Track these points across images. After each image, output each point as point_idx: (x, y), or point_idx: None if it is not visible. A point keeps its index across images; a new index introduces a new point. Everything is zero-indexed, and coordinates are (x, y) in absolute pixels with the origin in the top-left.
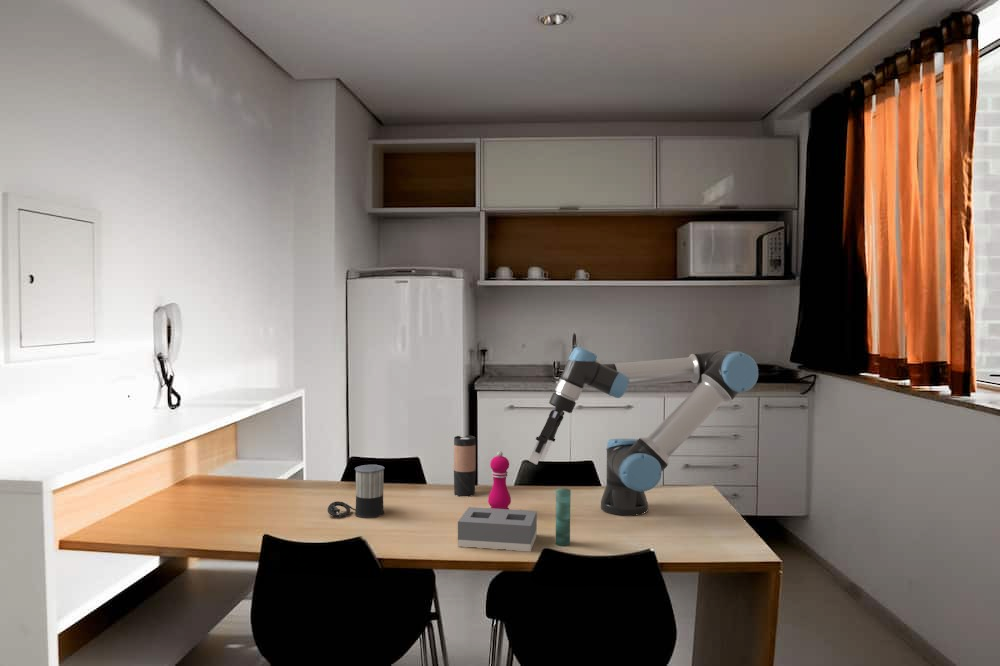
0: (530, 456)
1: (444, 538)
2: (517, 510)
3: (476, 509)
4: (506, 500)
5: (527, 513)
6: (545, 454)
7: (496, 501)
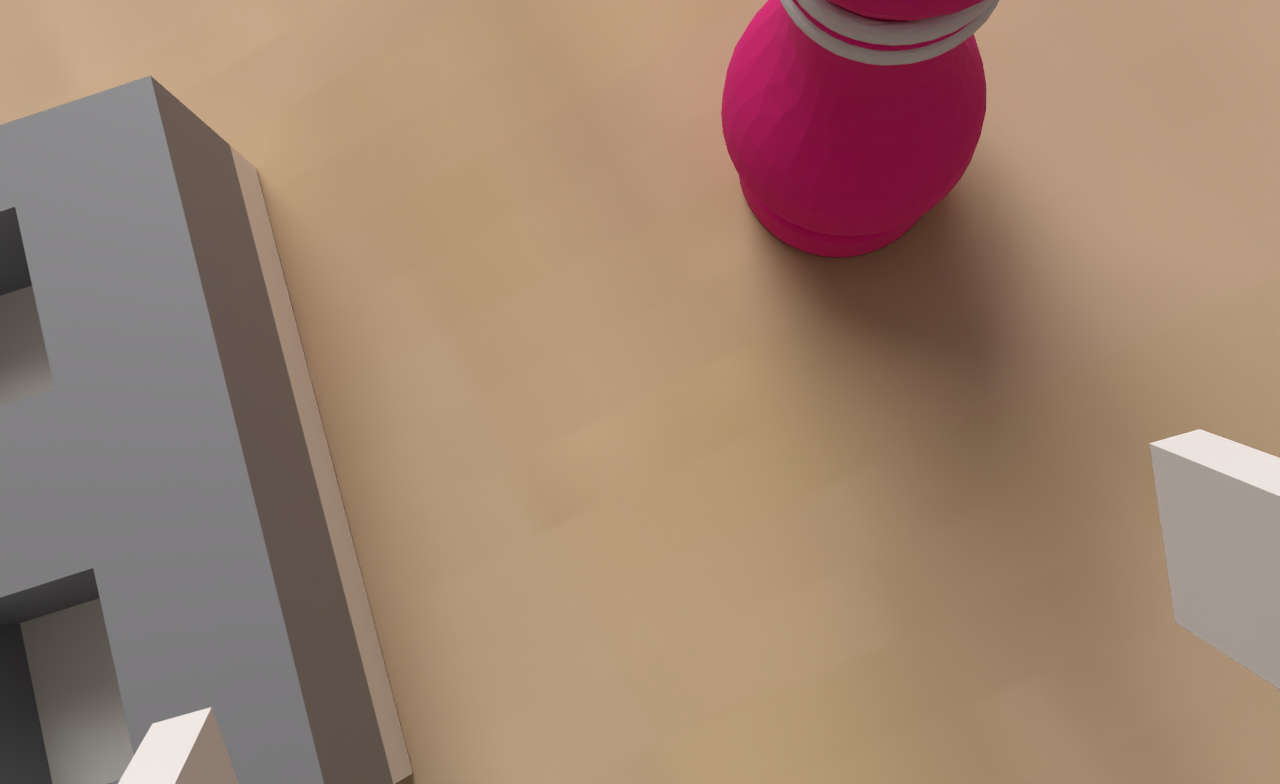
0: (122, 779)
1: (2, 98)
2: (251, 603)
3: (105, 187)
4: (800, 210)
5: None
6: (1269, 677)
7: (726, 126)
